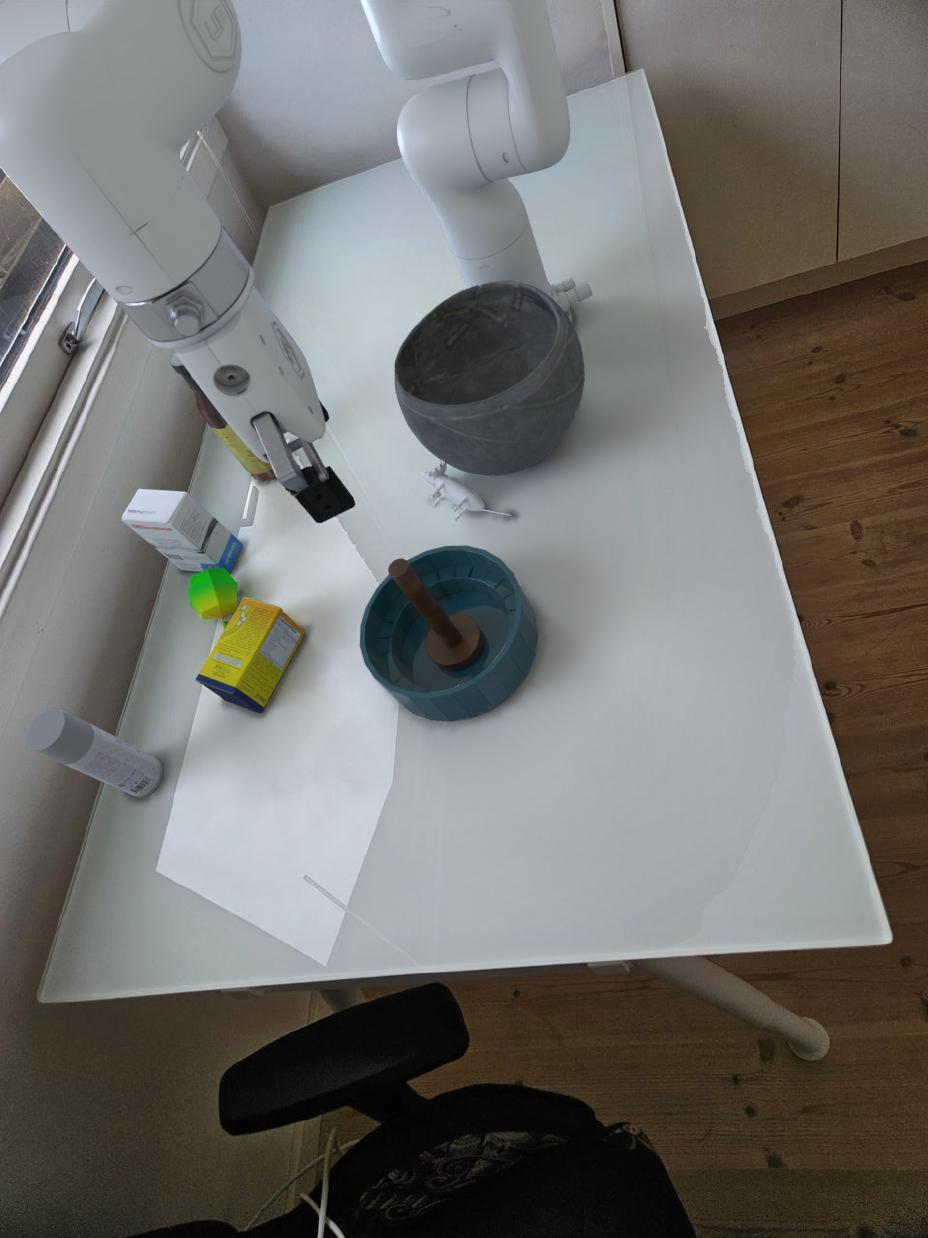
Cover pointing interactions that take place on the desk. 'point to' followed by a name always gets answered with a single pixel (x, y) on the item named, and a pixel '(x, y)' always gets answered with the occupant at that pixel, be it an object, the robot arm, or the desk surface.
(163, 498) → the ink box
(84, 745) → the container
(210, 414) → the sauce bottle
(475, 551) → the mixing bowl
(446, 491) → the white plastic figurine
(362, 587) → the desk surface
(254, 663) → the supplement box
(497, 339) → the bowl
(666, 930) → the desk surface
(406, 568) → the wooden potato masher
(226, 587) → the green faceted rounded lump
